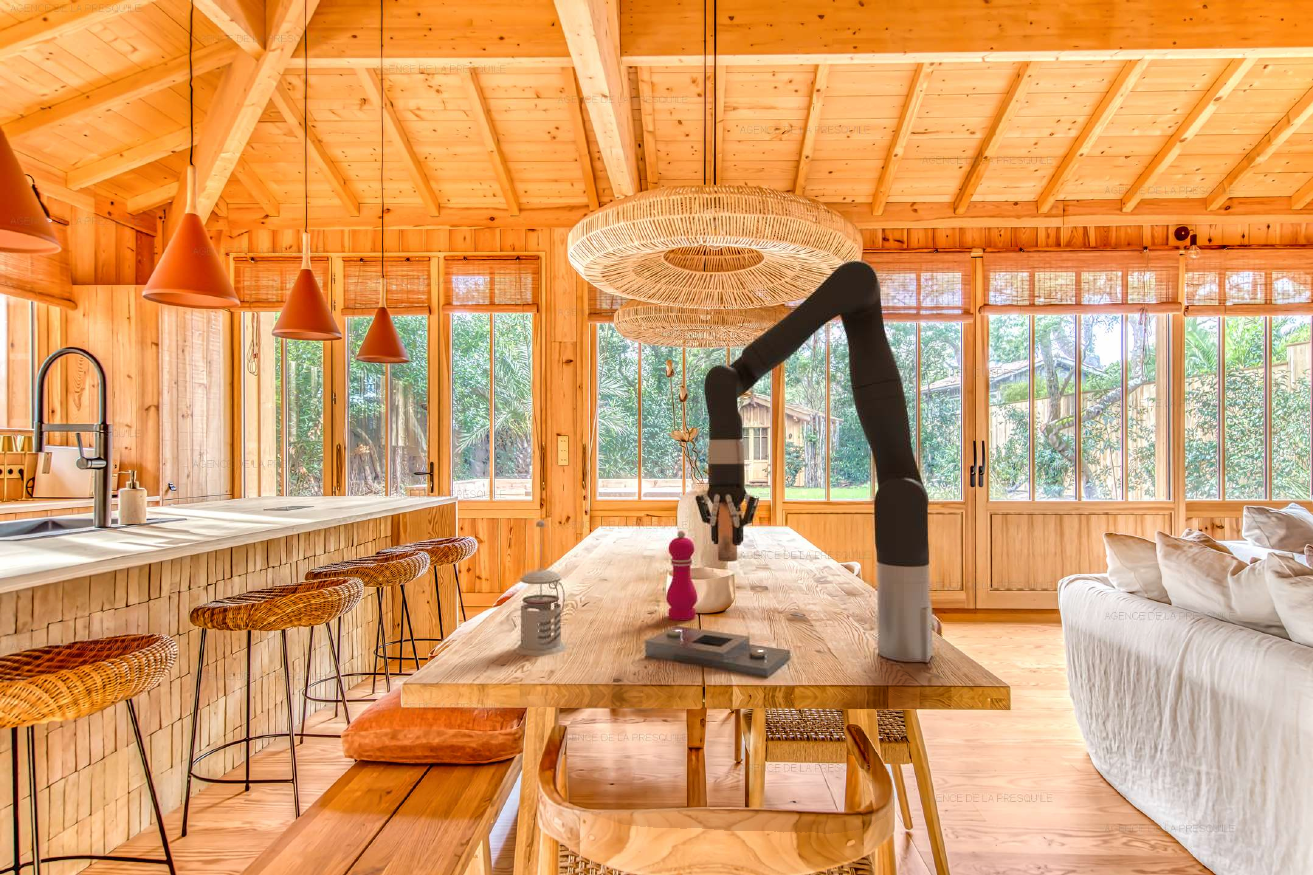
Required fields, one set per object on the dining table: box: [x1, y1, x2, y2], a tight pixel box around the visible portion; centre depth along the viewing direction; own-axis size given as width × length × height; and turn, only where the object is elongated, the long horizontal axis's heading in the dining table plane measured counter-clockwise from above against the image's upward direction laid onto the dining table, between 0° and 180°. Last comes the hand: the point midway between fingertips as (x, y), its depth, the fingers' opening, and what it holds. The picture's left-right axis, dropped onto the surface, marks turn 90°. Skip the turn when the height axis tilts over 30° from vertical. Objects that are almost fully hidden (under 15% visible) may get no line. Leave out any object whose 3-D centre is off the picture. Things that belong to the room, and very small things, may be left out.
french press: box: [515, 520, 567, 657], centre depth 131 cm, size 10×12×25 cm
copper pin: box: [717, 502, 738, 563], centre depth 137 cm, size 4×4×12 cm
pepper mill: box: [665, 530, 698, 621], centre depth 154 cm, size 7×7×20 cm
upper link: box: [644, 625, 751, 663], centre depth 125 cm, size 16×12×4 cm
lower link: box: [673, 643, 791, 679], centre depth 121 cm, size 18×12×2 cm, turn 60°
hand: (727, 544), depth 137 cm, fingers closed on copper pin, 4 cm apart
